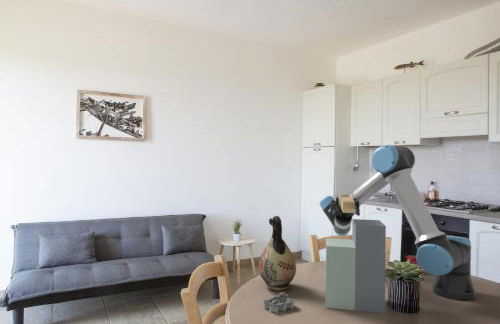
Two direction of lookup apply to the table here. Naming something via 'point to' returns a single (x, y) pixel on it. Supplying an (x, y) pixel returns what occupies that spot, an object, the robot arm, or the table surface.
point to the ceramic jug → (277, 260)
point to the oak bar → (347, 204)
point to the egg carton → (278, 303)
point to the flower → (412, 260)
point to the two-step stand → (357, 268)
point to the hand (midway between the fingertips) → (346, 195)
